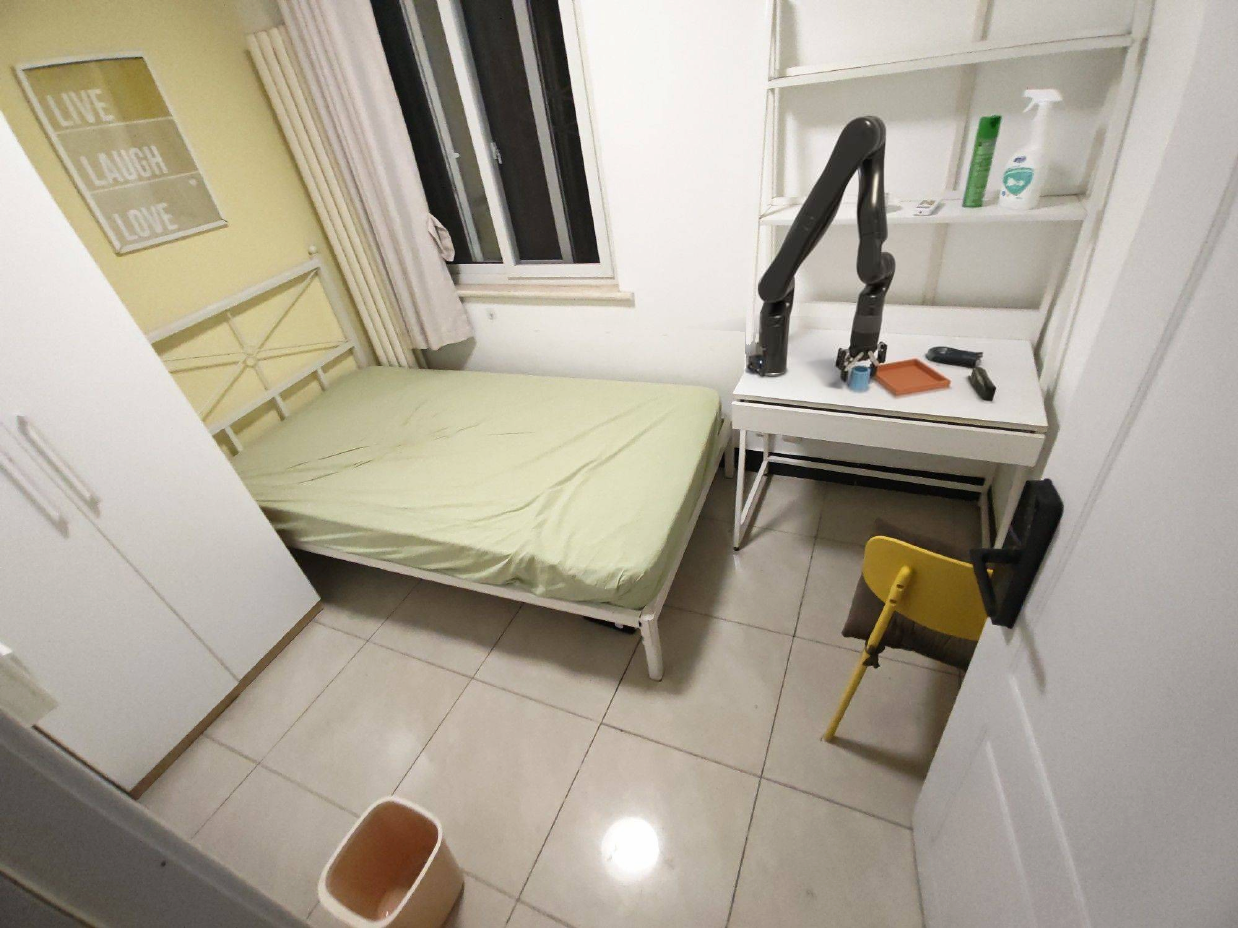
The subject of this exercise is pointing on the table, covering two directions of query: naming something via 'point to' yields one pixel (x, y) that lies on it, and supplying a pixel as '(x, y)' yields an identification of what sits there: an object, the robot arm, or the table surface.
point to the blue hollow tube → (859, 378)
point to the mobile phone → (982, 384)
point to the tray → (909, 377)
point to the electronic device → (954, 356)
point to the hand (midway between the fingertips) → (857, 378)
